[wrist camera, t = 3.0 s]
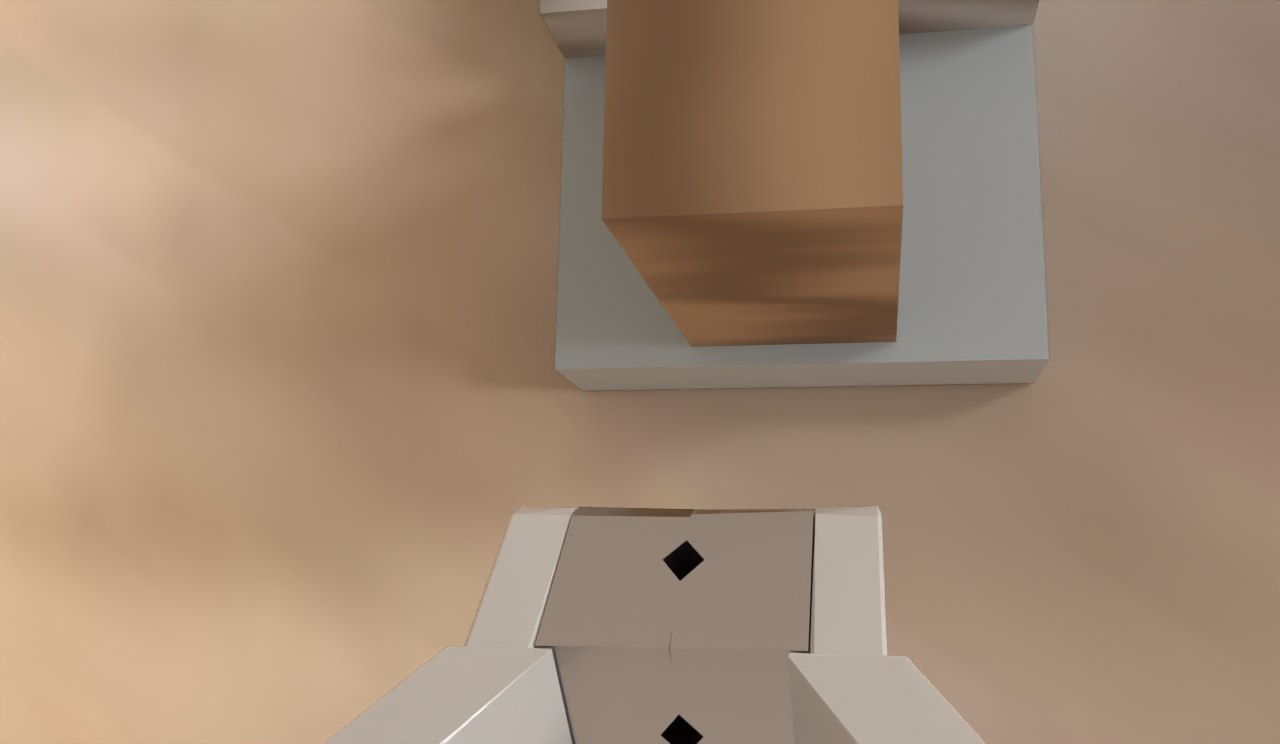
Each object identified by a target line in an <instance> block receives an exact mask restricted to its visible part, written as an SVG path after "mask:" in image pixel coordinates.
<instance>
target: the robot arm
mask: <svg viewBox="0 0 1280 744" xmlns="http://www.w3.org/2000/svg"><path fill="white" fill-rule="evenodd" d="M324 744H986V743H985V742H984V741H983V740H982V739H981V737H980V736H979V735H978V734H977V733H976V732H975V731H974V730H973V729H972V728H971V726H970V725H969V724H968V723H967V722H966V721H965V720H964V719H963V718H962V717H961V715H960V714H959V713H958V712H957V711H956V710H955V709H954V708H953V707H952V705H951V704H950V703H949V702H948V701H947V700H946V699H945V698H944V697H943V696H942V694H941V693H940V692H939V691H938V690H937V689H936V688H935V687H934V686H933V684H932V683H931V682H930V681H929V680H928V679H927V678H926V677H925V676H924V675H923V673H922V672H921V671H920V670H919V669H918V668H917V667H916V666H915V665H914V664H913V662H912V661H911V660H910V659H909V658H908V657H907V656H893V655H887V637H886V612H885V587H884V562H883V537H882V514H881V512H880V510H879V508H878V506H853V507H817V509H816V513H815V509H734V510H695V509H650V508H603V507H579V508H578V509H576V508H560V507H520V508H519V509H518V510H517V511H516V512H515V513H514V514H513V515H512V516H511V518H510V519H509V522H508V525H507V527H506V530H505V533H504V536H503V539H502V542H501V544H500V547H499V550H498V553H497V556H496V558H495V561H494V564H493V567H492V570H491V572H490V575H489V578H488V581H487V584H486V587H485V589H484V592H483V595H482V598H481V601H480V603H479V606H478V609H477V612H476V615H475V617H474V620H473V623H472V626H471V629H470V631H469V634H468V637H467V640H466V643H465V646H464V647H446V648H444V649H443V650H442V651H441V652H439V653H438V654H437V655H436V656H434V657H433V658H432V659H430V660H429V661H428V662H427V663H425V664H424V665H423V666H422V667H420V668H419V669H418V670H416V671H415V672H414V673H413V674H411V675H410V676H409V677H408V678H406V679H405V680H404V681H403V682H401V683H400V684H399V685H397V686H396V687H395V688H394V689H392V690H391V691H390V692H389V693H387V694H386V695H385V696H384V697H382V698H381V699H380V700H378V701H377V702H376V703H375V704H373V705H372V706H371V707H370V708H368V709H367V710H366V711H364V712H363V713H362V714H361V715H359V716H358V717H357V718H356V719H354V720H353V721H352V722H351V723H349V724H348V725H347V726H345V727H344V728H343V729H342V730H340V731H339V732H338V733H337V734H335V735H334V736H333V737H332V738H330V739H329V740H328V741H326V742H325V743H324Z"/></svg>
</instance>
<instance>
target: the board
mask: <svg viewBox="0 0 1280 744" xmlns="http://www.w3.org/2000/svg"><path fill="white" fill-rule="evenodd" d="M899 53H900V93H901V132H902V172H903V222H902V241H901V260H900V279H899V299H898V318H897V337H896V342H871V343H830V344H788V345H747V346H705V347H691V346H690V344H689V343H688V342H687V340H686V339H685V337H684V336H683V334H682V333H681V332H680V330H679V329H678V327H677V326H676V324H675V323H674V322H673V320H672V319H671V317H670V316H669V314H668V313H667V312H666V310H665V309H664V307H663V306H662V304H661V303H660V302H659V300H658V299H657V297H656V296H655V295H654V293H653V292H652V290H651V289H650V287H649V286H648V285H647V283H646V282H645V280H644V279H643V277H642V276H641V275H640V273H639V272H638V270H637V269H636V267H635V266H634V265H633V263H632V262H631V260H630V259H629V258H628V256H627V255H626V253H625V252H624V250H623V249H622V248H621V246H620V245H619V243H618V242H617V240H616V239H615V238H614V236H613V235H612V233H611V232H610V230H609V229H608V228H607V226H606V225H605V223H604V222H603V220H602V219H601V218H602V180H603V142H604V104H605V66H606V56H592V57H579V58H565V78H564V108H563V138H562V167H561V197H560V227H559V257H558V287H557V317H556V347H555V370H556V371H558V372H559V373H560V374H562V375H563V376H564V377H566V378H567V379H568V380H569V381H571V382H572V383H573V384H575V385H576V386H577V387H579V388H580V389H581V390H583V391H598V390H656V389H713V388H771V387H829V386H887V385H945V384H1002V383H1034V382H1035V380H1036V378H1037V377H1038V375H1039V374H1040V372H1041V371H1042V369H1043V368H1044V366H1045V365H1046V363H1047V361H1048V360H1049V347H1048V327H1047V307H1046V286H1045V266H1044V245H1043V225H1042V204H1041V184H1040V164H1039V143H1038V123H1037V102H1036V82H1035V62H1034V41H1033V25H1021V26H1008V27H994V28H980V29H966V30H952V31H938V32H925V33H911V34H899Z"/></svg>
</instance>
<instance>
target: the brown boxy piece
mask: <svg viewBox="0 0 1280 744" xmlns="http://www.w3.org/2000/svg"><path fill="white" fill-rule="evenodd" d="M1038 2H1039V0H540V15H541V17H542V18H543V20H544V22H545V24H546V26H547V27H548V29H549V31H550V33H551V34H552V36H553V38H554V40H555V41H556V43H557V45H558V47H559V48H560V50H561V52H562V54H563V56H564V57H565V58H579V57H592V56H606V66H605V104H604V142H603V180H602V218H601V219H602V220H603V222H604V223H605V225H606V226H607V228H608V229H609V230H610V232H611V233H612V235H613V236H614V238H615V239H616V240H617V242H618V243H619V245H620V246H621V248H622V249H623V250H624V252H625V253H626V255H627V256H628V258H629V259H630V260H631V262H632V263H633V265H634V266H635V267H636V269H637V270H638V272H639V273H640V275H641V276H642V277H643V279H644V280H645V282H646V283H647V285H648V286H649V287H650V289H651V290H652V292H653V293H654V295H655V296H656V297H657V299H658V300H659V302H660V303H661V304H662V306H663V307H664V309H665V310H666V312H667V313H668V314H669V316H670V317H671V319H672V320H673V322H674V323H675V324H676V326H677V327H678V329H679V330H680V332H681V333H682V334H683V336H684V337H685V339H686V340H687V342H688V343H689V344H690V346H691V347H705V346H747V345H788V344H830V343H871V342H896V337H897V318H898V299H899V279H900V260H901V241H902V222H903V172H902V132H901V93H900V53H899V34H911V33H925V32H938V31H952V30H966V29H980V28H994V27H1008V26H1021V25H1033V22H1034V18H1035V14H1036V10H1037V6H1038Z"/></svg>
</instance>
